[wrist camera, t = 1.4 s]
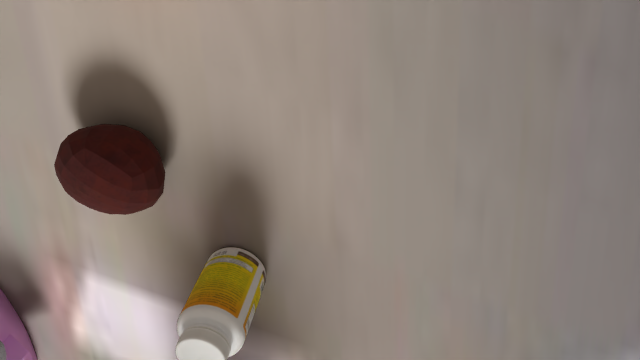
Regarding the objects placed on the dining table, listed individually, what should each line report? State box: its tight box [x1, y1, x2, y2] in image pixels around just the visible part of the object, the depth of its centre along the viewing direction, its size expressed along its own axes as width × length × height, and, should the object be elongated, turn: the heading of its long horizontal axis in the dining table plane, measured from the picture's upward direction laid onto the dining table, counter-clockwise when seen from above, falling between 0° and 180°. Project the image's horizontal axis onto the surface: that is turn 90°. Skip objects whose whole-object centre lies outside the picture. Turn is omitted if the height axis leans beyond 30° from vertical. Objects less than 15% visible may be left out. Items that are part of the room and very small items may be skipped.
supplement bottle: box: [175, 247, 266, 360], centre depth 48 cm, size 6×6×10 cm
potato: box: [54, 124, 165, 215], centre depth 45 cm, size 7×8×6 cm
